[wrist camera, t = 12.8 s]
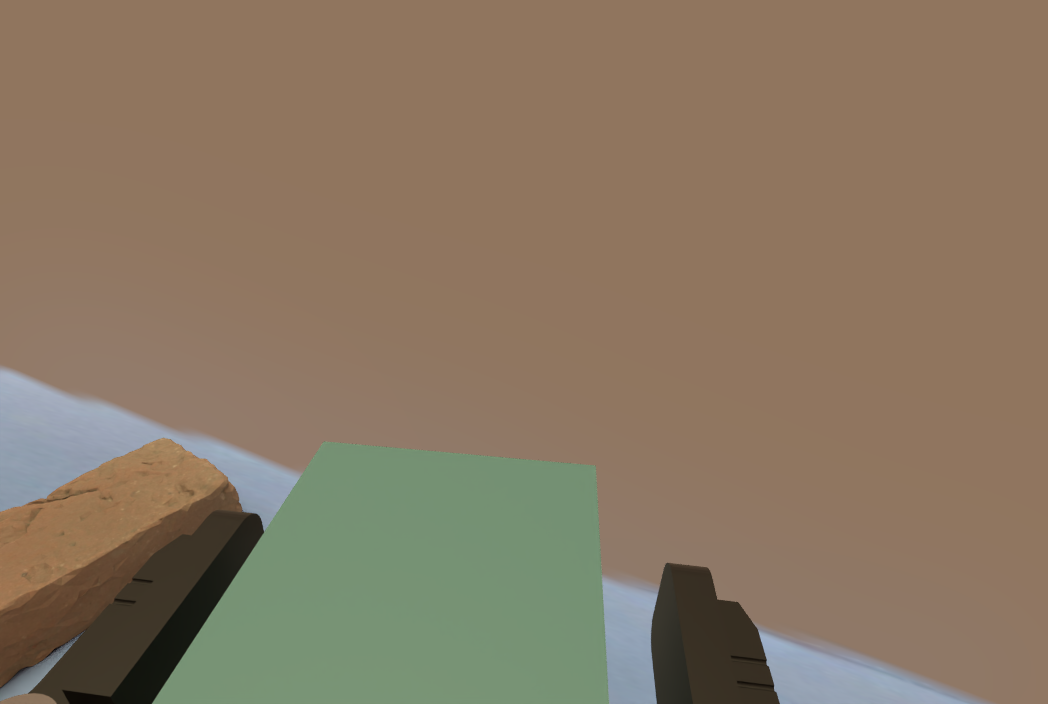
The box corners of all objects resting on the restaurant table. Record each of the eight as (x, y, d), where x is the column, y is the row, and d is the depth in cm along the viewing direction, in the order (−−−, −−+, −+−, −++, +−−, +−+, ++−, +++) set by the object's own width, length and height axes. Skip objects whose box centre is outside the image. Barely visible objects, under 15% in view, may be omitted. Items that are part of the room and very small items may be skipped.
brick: (178, 476, 42) (162, 424, 40) (252, 523, 38) (239, 468, 36) (-141, 653, 29) (-190, 590, 27) (-76, 749, 25) (-128, 684, 23)
